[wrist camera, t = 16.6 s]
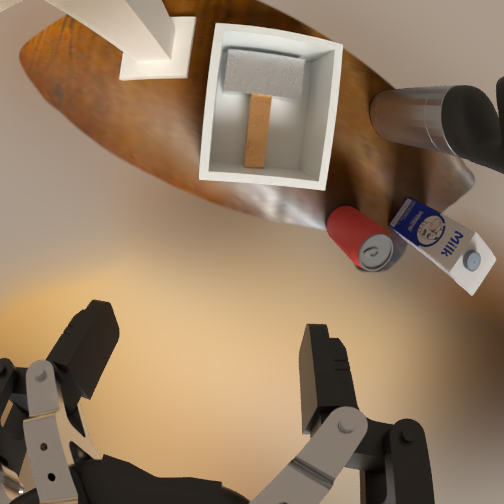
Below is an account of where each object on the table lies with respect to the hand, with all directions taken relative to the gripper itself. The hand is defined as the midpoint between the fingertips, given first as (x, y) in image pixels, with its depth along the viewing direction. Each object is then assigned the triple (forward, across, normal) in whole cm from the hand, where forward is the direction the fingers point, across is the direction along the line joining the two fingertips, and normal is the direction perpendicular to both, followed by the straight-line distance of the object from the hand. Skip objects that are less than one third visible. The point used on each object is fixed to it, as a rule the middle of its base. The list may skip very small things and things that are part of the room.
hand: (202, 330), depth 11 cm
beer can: (+36, -16, +10) cm, 41 cm away
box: (+35, -1, -7) cm, 36 cm away
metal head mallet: (+34, 0, -7) cm, 34 cm away
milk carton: (+38, -30, +9) cm, 49 cm away
